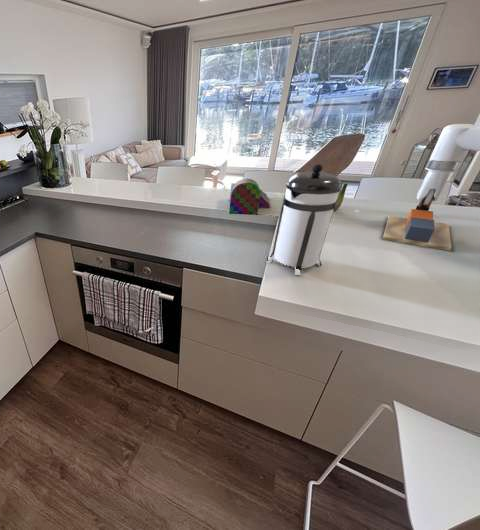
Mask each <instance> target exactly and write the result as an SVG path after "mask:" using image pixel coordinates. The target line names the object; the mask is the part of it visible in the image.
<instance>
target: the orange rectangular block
mask: <svg viewBox="0 0 480 530" xmlns="http://www.w3.org/2000/svg"><path fill="white" fill-rule="evenodd" d="M411 217H413V218H421V219H428V220H434V211H432V210H428V211H424V210H416V208H415V209H414V208H411V210H410V212H409V214H408V216H407V217H406V218H407V221H406V228H407V226H408V224H409V222H410V219H411ZM406 228H405V229H406Z"/></svg>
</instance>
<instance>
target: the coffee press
mask: <svg viewBox="0 0 480 530" xmlns="http://www.w3.org/2000/svg"><path fill="white" fill-rule="evenodd" d="M322 170H323V166H322V164H320V163H315V164H314V165H313V166H312V167H311V171H305V172H304V171H303V172H299V173H296V174H294V175H292V176H291V177H290V178H289V180H288V181H286V183H285V188H286V190H285V194H284V196H283V200H282V206H281V209H280V214H279V218H278V223H277V228H276V234H275V239H274V242H273V248H272V251H271V254H270V255H271V256H270V255H269V256H270V257H271V258H272V257H273V259H274V258H275V259H276V260H275V261H276V262H278V263H279V262H280V263H279V264H281V263H282V264H281V265H283V264H284V265H283V266H286V265H287V266H286V267H289V266H291V267H290V268H294V267H296V269H299V270H301V271H302V269H306V268H310V267H313V266H316V267H317V268H318V267H322V266H323V263H322V261H321V260H320V257H321V253H322V250H323V247H324V243H325V241H326V237H327V234H328V231H329V228H330V224H331V221H332V217H333V214H334V211H335V210H334V208H335V206H336V203H337V196H338V193H339V192H340V191H341V190H342V187H343V184H341V182H342V181H341V179H340V178H339V177H338V176H337V175H334V174H332V173H328V172H323V171H322ZM266 261H268V257H267V258H266ZM318 261H319V263H318ZM321 263H322V264H321Z"/></svg>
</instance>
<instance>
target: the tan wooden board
mask: <svg viewBox="0 0 480 530" xmlns="http://www.w3.org/2000/svg"><path fill="white" fill-rule="evenodd" d="M407 218H408V217H401V216H393V215H388V218H387V220H386V225H385V228H384V232H383V236H382V240H385V241H391V242H398V243H403V244H409V245H415V246H420V247H427V248H432V249H437V250H443V251H449V252H451V250H452V248H453V247H452V240H451V233H450V231H451V230H450V224H449V223H447V222H439V221H434V232H433V234H432V236H431V238H430V240H429V241H428V243H427V242H421V241H415V240H409V239H405V233H406V229H405V228H406V221H407Z"/></svg>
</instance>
